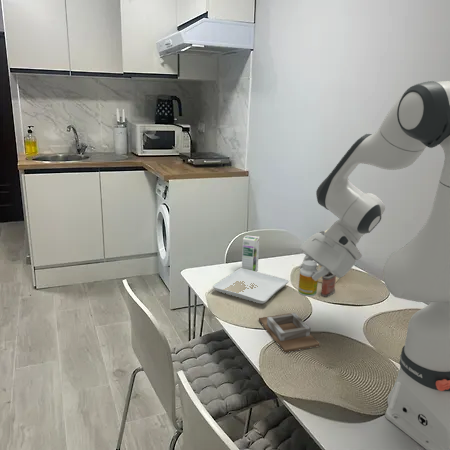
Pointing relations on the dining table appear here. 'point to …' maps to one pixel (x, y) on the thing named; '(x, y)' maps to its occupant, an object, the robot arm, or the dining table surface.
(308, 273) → the supplement bottle
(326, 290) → the lighter
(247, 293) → the salad plate
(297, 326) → the socket board
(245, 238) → the syrup box
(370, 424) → the dining table surface
